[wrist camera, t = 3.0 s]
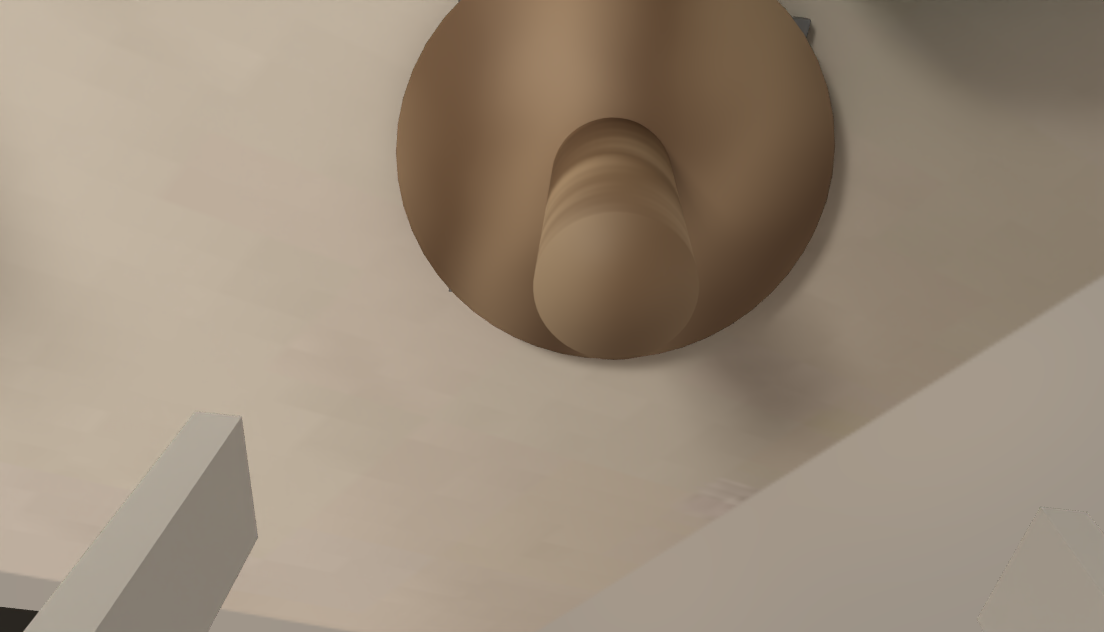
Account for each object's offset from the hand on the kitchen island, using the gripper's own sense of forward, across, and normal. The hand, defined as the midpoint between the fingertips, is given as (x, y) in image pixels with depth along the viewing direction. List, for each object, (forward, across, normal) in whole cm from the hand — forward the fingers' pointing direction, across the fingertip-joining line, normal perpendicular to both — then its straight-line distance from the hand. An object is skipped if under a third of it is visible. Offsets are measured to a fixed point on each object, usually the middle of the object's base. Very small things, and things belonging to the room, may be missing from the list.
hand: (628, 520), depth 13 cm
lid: (+18, 0, 0) cm, 18 cm away
